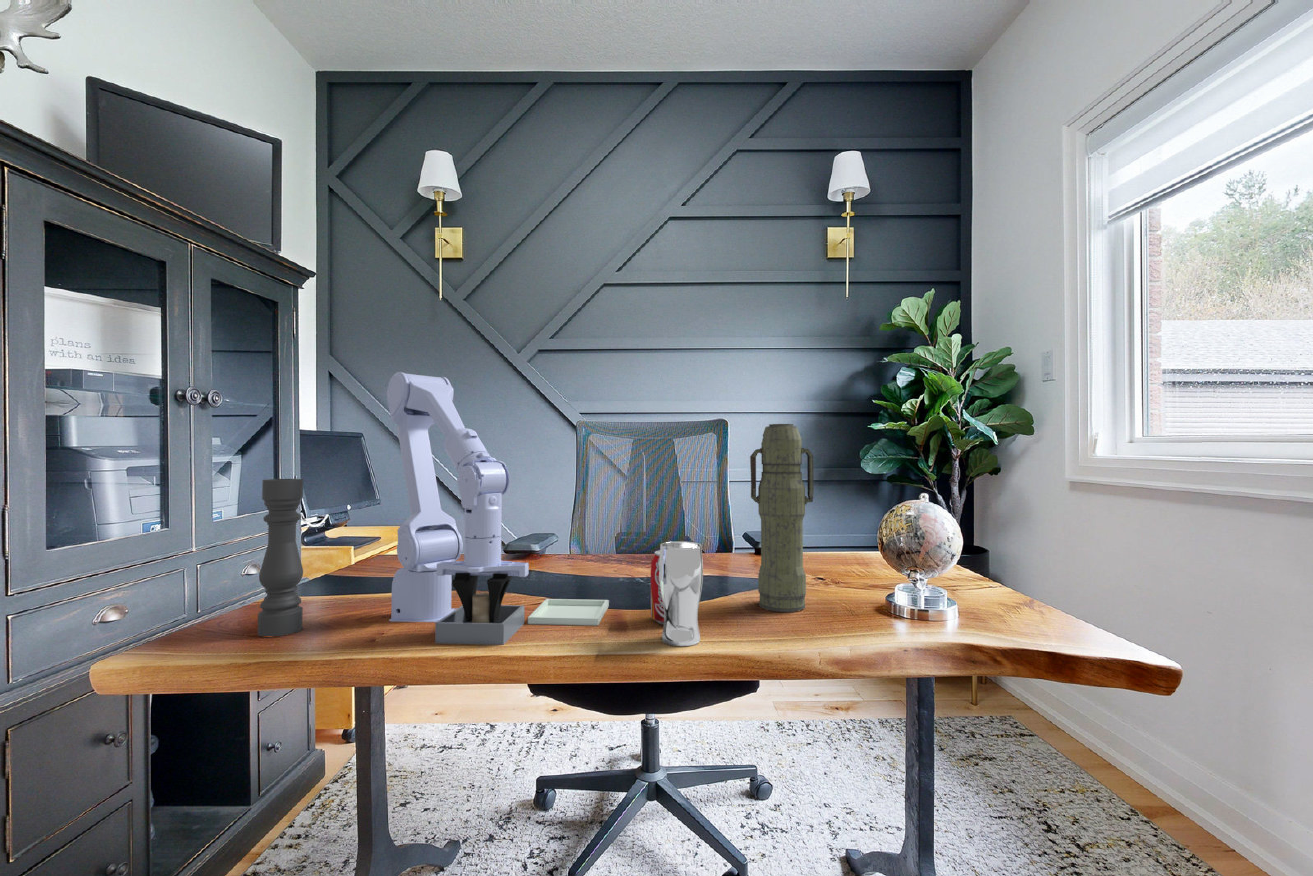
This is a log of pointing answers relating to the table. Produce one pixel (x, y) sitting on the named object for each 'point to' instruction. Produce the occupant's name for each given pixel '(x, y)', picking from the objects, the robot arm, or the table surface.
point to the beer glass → (680, 591)
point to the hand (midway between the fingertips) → (482, 620)
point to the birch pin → (480, 608)
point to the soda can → (656, 591)
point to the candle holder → (281, 559)
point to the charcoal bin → (479, 627)
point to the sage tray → (569, 612)
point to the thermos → (781, 517)
